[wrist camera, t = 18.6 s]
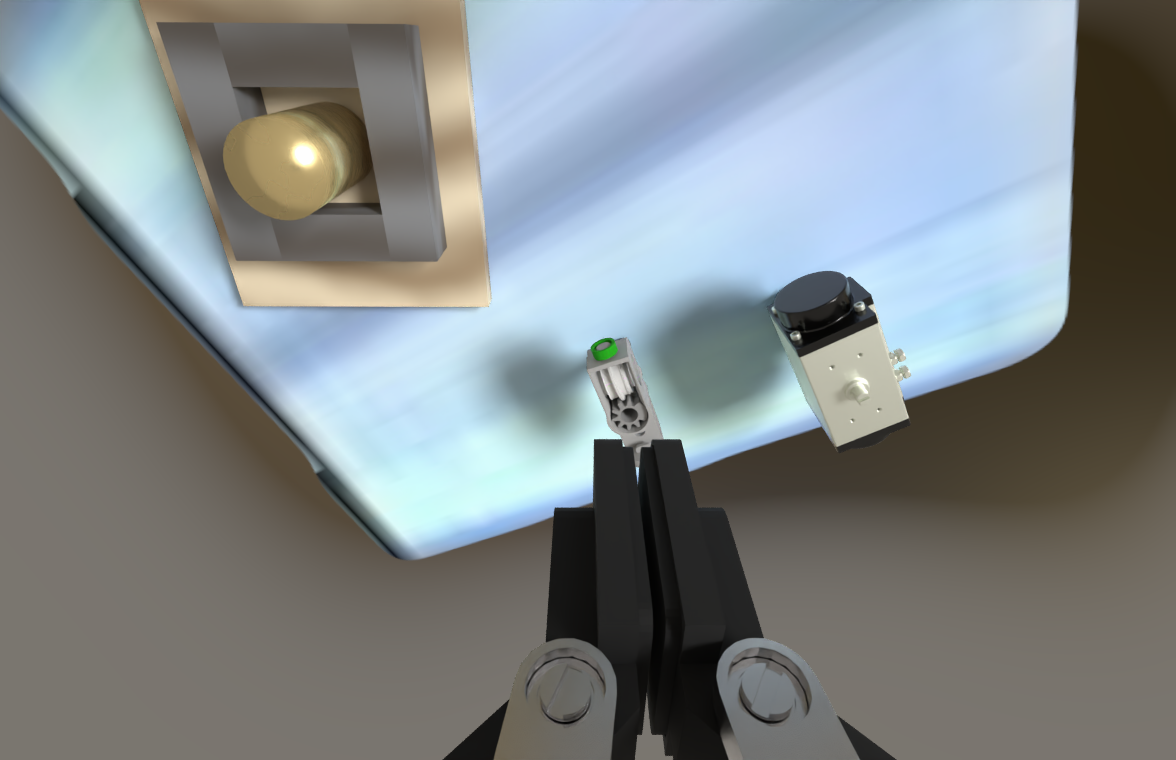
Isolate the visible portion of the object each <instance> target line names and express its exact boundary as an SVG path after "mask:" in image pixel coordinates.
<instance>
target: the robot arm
mask: <svg viewBox="0 0 1176 760" xmlns="http://www.w3.org/2000/svg"><path fill="white" fill-rule="evenodd" d="M551 553H552V554H551V568H550V583H549V599H548V615H547V630H546V643H544V644H542V645H540V646H539V647H537V648H536V649H534V650H533V651H531V653H530V654H529V655H528V656H527V657H526V658H525V660H524V661H523V662H522V663H521V665H520V667H519V670H518V672H517V674H516V677H515V680H514V683H513V688H512V691H511V695H510V699H509V700H508V701H507V702H506V703H505V704H503V705H502V706H501V707H500V708H499V709H498V710H497V711H496V712H495V713H494V714H492V716H490V717H489V718H488V719H487V720H486V721H485V722H484V723H483V724H482V725H480V726H479V727H478V728H477V729H476V730H475V731H474V732H473V733H472V734H471V735H470V736H468V737H467V738H466V739H465V740H464V741H463V742H462V743H461V744H459V745H458V746H457V747H456V748H455V749H454V750H453V751H452V752H451V753H450V754H449V755H447V756H446V757H445V758H444V759H443V760H635V752H636V751H635V750H636V742H637V735H642V730H643V720H644V712H645V702H646V694H647V698H648V709H649V719H650V728H651V733H652V735H663V741H664V749H665V755H666V756H673V760H896V759H895V758H893V757H892V756H891V755H889V754H888V753H887V752H885V751H884V750H883V749H881V748H880V747H878V746H877V745H876V744H875V743H873V742H872V741H871V740H869V739H868V738H867V737H865V736H864V735H863V734H861V733H860V732H859V731H857V730H856V729H855V728H853V727H852V726H851V725H849V724H848V723H847V722H845V721H844V720H842V719H841V718H840V717H838V716H837V715H836V713H835V711H834V709H833V707H832V705H831V703H830V701H829V699H828V697H827V695H826V694H825V692H824V690H823V688H822V686H821V684H820V682H819V680H818V678H817V677H816V675H815V674H814V672H813V671H812V669H811V668H810V666H809V665H808V663H807V662H805V661H804V660H803V659H802V658H801V657H800V656H799V655H798V654H797V653H796V652H794V651H793V650H791V649H789V648H788V647H786V646H784V645H782V644H781V643H779V642H775V641H771V640H768V639H764V637H763V634H762V631H761V627H760V624H759V621H758V617H757V614H756V611H755V608H754V604H753V601H752V598H751V595H750V591H749V588H748V584H747V581H746V578H745V574H744V571H743V568H742V565H741V561H740V558H739V554H738V551H737V548H736V544H735V541H734V538H733V535H732V532H731V528H730V525H729V521H728V518H727V515H726V513H725V511H724V509H723V508H698V507H697V503H696V499H695V495H694V491H693V487H692V483H691V479H690V475H689V471H688V466H687V462H686V458H685V454H684V450H683V446H682V442H681V440H680V439H652V441H651V446H650V447H641V450H640V464H639V478H638V484H637V476H636V467H635V459H634V451H633V447H623V444H622V439H594V474H593V508H555V510H554V521H553V538H552V552H551Z"/></svg>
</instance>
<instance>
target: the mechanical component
mask: <svg viewBox="0 0 1176 760" xmlns="http://www.w3.org/2000/svg"><path fill="white" fill-rule="evenodd" d="M587 372H588V374H589V376H590V379H591V381H592V383H593V386H594V388H595V390H596V392H597V395H598V397H599V399H600V402H601V404H602V406H603V409H604V411H605V413H606V417H607V424H608V426H609V427H610V429H611V430H612V431H614V432H615V433H617V434H619V435H620V436H621V438H622V441H623V443H624V445H625V447H633V451H634V459H635V467H639V464H640V450H641V447H650V446H651V441H652V439H663V435H662V431H661V427H660V424H659V421H658V418H657V415H656V413H655V410H654V407H653V405H652V402H651V399H650V396H649V394H648V388H647V385H646V383H645V382H644V380H643V378H642V370H641V368H640V367H639V366H638V364H637V362H636V359H635V356H634V354H633V351H632V348H631V344H630V342H629V340H628V339H627V337H626V338H622V339H620V340H617V341H614V339H612V338H605V339H601V340H599V341H597V342H595V343H594V344H593V345H592V346H591V349H590V350H588V351H587Z"/></svg>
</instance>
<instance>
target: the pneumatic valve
mask: <svg viewBox="0 0 1176 760" xmlns="http://www.w3.org/2000/svg"><path fill="white" fill-rule="evenodd" d="M767 310H768V312H769V314H770V317H771V319H772V321H773V324H774V326H775V328H776V331H777V333H778V335H779V338H780V340H781V342H782V345H783V347H784V349H785V352H786V354H787V356H788V359H789V361H790V363H791V366H792V368H793V371H794V373H795V375H796V378H797V380H798V382H799V385H800V387H801V389H802V392H803V394H804V396H805V399H806V401H807V403H808V405H809V406H810V408H811V409H812V411H813V413H814V414H815V416H816V417H817V419H818V421H819V422H820V424H821V426H822V427H823V429H824V430H825V432H826V434H827V435H828V437H829V438H830V440H831V442H832V443H833V445H834V446H835V448H836V450H837V451H838V453H841V452H844V451H846V450H848V449H858V448H859V449H860V448H866V447H870V446H873V445H875V444H877V443H879V442H881V441H883V440H884V439H885V438H886V437H887V436H888V435H889V434H890V433H892V432H894V431H897V430H899V429H902V428H904V427H907V426H910V425H911V423H910V420H909V417H908V414H907V411H906V408H905V401H904V398H903V395H902V391H901V388H900V385H899V381H901V380H903V377H904V378H909V377H910V376H911V373H910V371H909V369H908V368H907V367H906V366H905V365H904V366H901V367H899V370H900V371H899V370H898V369H894V366H893V365H895V364H897V363H898V361H899V362H902V361H904V360H905V359H906V357H905V354H904V352H903V351H902V350H901V349H900V348H899V349H896V350H894V353H895V354H894V353H893V352H889V350H888V347H887V344H886V341H885V337H884V334H883V331H882V328H881V325H880V322H879V318H878V315H877V312H876V309H875V306H874V302H873V299H872V296H871V294H870V293H868V292H867V291H866V290H865V289H864V288H863V287H862V286H860V285H859V284H858V283H857V282H856V281H855V280H854V279H853V278H851V277H848V278H846V277H845V276H844V275H843V274H841V273H839V272H835V271H822V272H816V273H812V274H808V275H806V276H803V277H800V278H798V279H796V280H794V281H793V282H791V283H789V284H788V285H786V286H785V287H784V288H783V289H782V290H781V291H780V292H779V293H778V294H777V296H776V297H775V300H774V303H773V304H772V305H770V306H768V307H767ZM897 359H898V361H897ZM902 376H903V377H902Z"/></svg>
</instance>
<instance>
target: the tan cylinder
mask: <svg viewBox="0 0 1176 760" xmlns="http://www.w3.org/2000/svg"><path fill="white" fill-rule="evenodd" d="M223 161H224V166H225V170H226V173H227V176H228V178H229V180H230V182H231V184H232V186H233V187H234V189H235V190H236V192H237V193H238V194H239V195H240V196H241V198H242V199H243V200H244V201H245V202H246V203H248V204H249V205H250V206H251V207H253V208H254V209H255V210H257V211H259V212H260V213H262V214H264V215H266V216H269V217H272V218H275V219H279V220H298V219H302V218H305V217H307V216H309V215H310V214H312V213H313V212H315V211H316V210H318V209H319V208H321V207H322V206H324V205H325V204H327V203H328V202H330V201H332V200H333V199H335V198H336V197H338V196H339V195H341V194H342V193H344V192H345V191H347V190H348V189H350V188H351V187H353V186H354V185H356V184H357V183H359V182H360V181H362V180H363V179H364V178H365V177H366V176H367V175H368V174H369V172H370V170H371V169H372V166H373V162H372V156H371V151H370V145H369V140H368V135H367V129H366V126H365V124H364V123H363V122H362V120H361V119H360V118H359V117H358V116H357V115H356V114H355V113H353V112H352V111H351V110H349V109H348V108H346V107H344V106H342V105H340V104H337V103H333V102H316V103H312V104H308V105H303V106H299V107H295V108H291V109H287V110H283V111H279V112H275V113H271V114H267V115H263V116H259V117H255V118H251V119H248V120H244V121H242V122H241V123H239V124H237V125H236V126H235V127H234V128H233V129H232V130H231V131H230V133H229V134H228V136H227V138H226V140H225V143H224V148H223Z"/></svg>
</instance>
